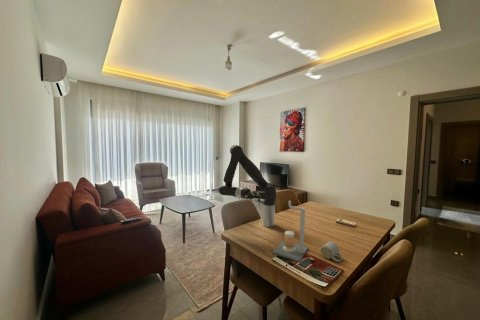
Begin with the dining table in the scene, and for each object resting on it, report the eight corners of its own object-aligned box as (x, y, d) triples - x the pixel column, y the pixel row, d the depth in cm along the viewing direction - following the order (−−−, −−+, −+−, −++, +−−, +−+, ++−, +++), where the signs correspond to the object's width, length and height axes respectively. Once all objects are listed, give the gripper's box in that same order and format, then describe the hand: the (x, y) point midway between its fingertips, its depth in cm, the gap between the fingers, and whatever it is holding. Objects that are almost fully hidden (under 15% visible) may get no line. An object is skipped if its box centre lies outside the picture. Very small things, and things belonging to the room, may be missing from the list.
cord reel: (286, 245, 127) (286, 229, 126) (295, 247, 124) (295, 232, 123) (282, 249, 122) (283, 233, 121) (292, 252, 119) (292, 235, 118)
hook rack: (283, 241, 135) (284, 196, 133) (307, 248, 126) (309, 200, 124) (272, 253, 119) (273, 202, 118) (299, 262, 111) (301, 207, 109)
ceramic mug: (319, 255, 117) (320, 243, 117) (326, 251, 123) (327, 239, 122) (337, 264, 109) (338, 251, 109) (344, 259, 114) (345, 246, 114)
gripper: (237, 189, 140) (258, 192, 131) (248, 186, 151) (267, 189, 143) (237, 200, 140) (258, 203, 131) (247, 196, 152) (267, 199, 143)
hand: (263, 196), depth 137 cm, fingers open, 8 cm apart
